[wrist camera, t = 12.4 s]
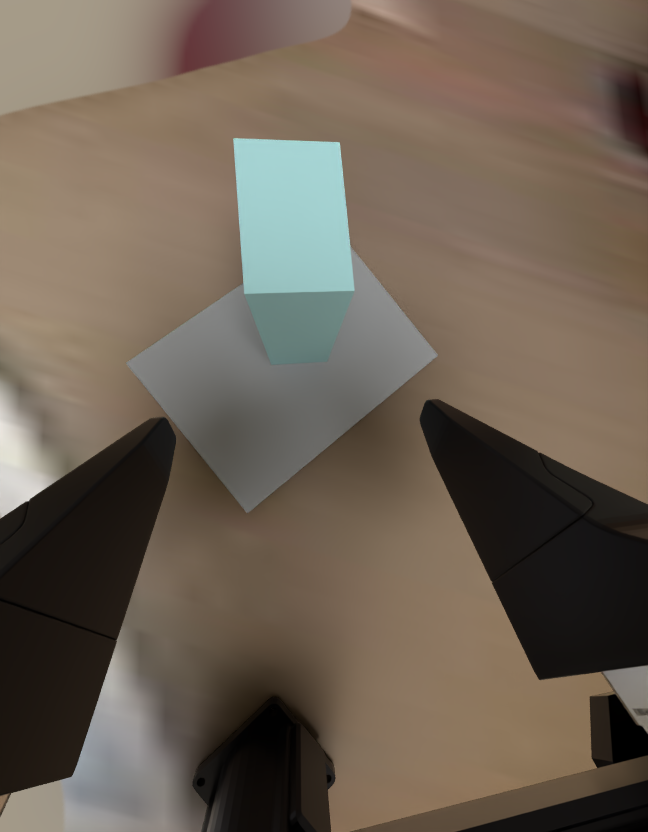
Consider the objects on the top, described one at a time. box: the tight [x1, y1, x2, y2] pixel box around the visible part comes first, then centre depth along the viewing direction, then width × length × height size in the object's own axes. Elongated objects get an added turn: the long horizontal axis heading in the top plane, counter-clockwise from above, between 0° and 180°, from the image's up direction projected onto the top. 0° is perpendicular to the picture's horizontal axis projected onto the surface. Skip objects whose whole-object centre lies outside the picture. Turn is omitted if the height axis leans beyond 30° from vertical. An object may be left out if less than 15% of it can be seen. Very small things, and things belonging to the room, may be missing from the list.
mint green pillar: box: [233, 138, 355, 365], centre depth 14 cm, size 4×6×9 cm, turn 5°
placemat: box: [126, 246, 438, 513], centre depth 18 cm, size 18×13×1 cm
